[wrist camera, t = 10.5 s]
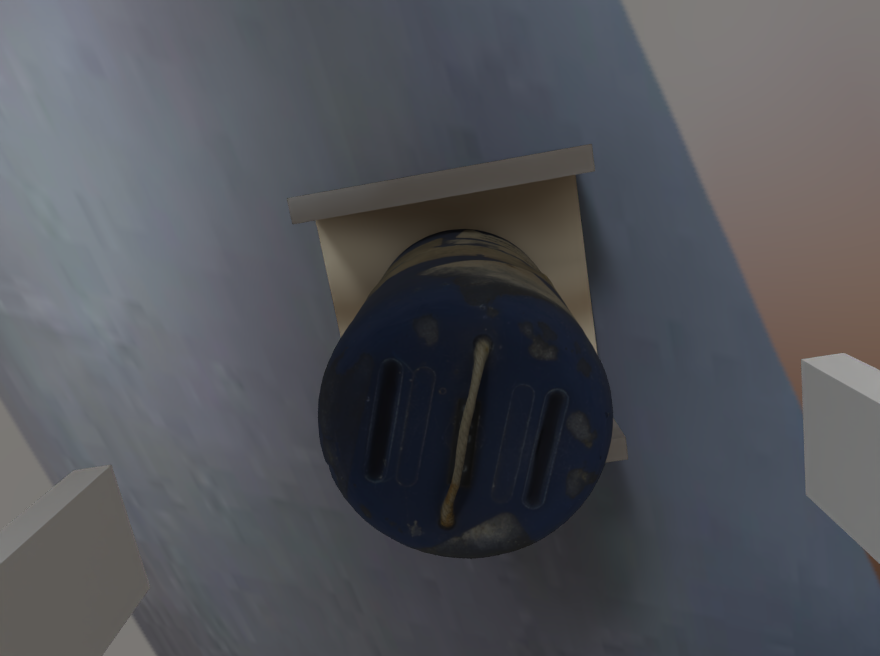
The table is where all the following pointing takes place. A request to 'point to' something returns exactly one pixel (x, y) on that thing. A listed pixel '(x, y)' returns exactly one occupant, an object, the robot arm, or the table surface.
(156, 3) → the table surface
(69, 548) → the robot arm
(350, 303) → the keeper cradle
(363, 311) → the canister
